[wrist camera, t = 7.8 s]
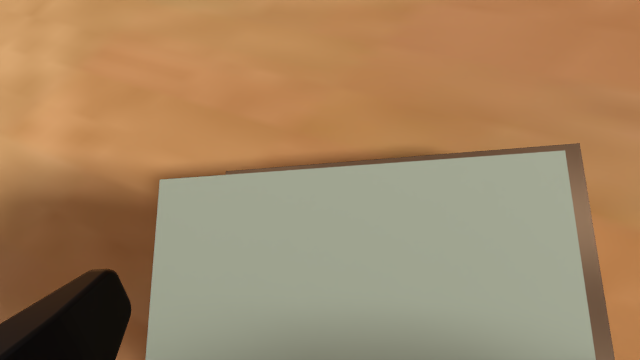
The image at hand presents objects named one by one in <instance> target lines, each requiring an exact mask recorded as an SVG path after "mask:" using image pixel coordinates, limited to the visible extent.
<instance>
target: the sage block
mask: <svg viewBox="0 0 640 360" xmlns="http://www.w3.org/2000/svg"><path fill="white" fill-rule="evenodd" d="M145 360H596V357H595V350H594V344H593V337H592V330H591V323H590V316H589V310H588V303H587V296H586V289H585V282H584V276H583V269H582V262H581V255H580V248H579V242H578V235H577V228H576V221H575V214H574V208H573V201H572V194H571V187H570V181H569V174H568V167H567V160H566V153H565V150H564V151H550V152H537V153H523V154H509V155H495V156H481V157H467V158H453V159H439V160H425V161H412V162H398V163H384V164H370V165H356V166H342V167H328V168H314V169H300V170H287V171H273V172H259V173H245V174H231V175H217V176H203V177H189V178H175V179H162V180H160V183H159V196H158V208H157V221H156V233H155V246H154V258H153V271H152V284H151V296H150V309H149V321H148V334H147V346H146V359H145Z"/></svg>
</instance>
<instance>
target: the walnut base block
mask: <svg viewBox="0 0 640 360" xmlns="http://www.w3.org/2000/svg"><path fill="white" fill-rule="evenodd" d="M564 150H565V153H566V160H567V167H568V174H569V181H570V187H571V194H572V201H573V208H574V214H575V221H576V228H577V235H578V242H579V248H580V255H581V262H582V269H583V276H584V282H585V289H586V296H587V303H588V310H589V316H590V323H591V330H592V337H593V344H594V350H595V357H596V360H615V358H614V352H613V346H612V340H611V334H610V327H609V321H608V315H607V309H606V303H605V297H604V290H603V284H602V278H601V272H600V266H599V260H598V254H597V247H596V241H595V235H594V229H593V223H592V217H591V211H590V204H589V198H588V192H587V186H586V180H585V174H584V167H583V161H582V155H581V149H580V143H577V144H565V145H552V146H540V147H527V148H514V149H502V150H489V151H477V152H464V153H451V154H439V155H426V156H414V157H401V158H388V159H376V160H363V161H351V162H338V163H325V164H313V165H300V166H288V167H275V168H262V169H250V170H237V171H226V175H231V174H245V173H259V172H273V171H287V170H300V169H314V168H328V167H342V166H356V165H370V164H384V163H398V162H412V161H425V160H439V159H453V158H467V157H481V156H495V155H509V154H523V153H537V152H550V151H564Z"/></svg>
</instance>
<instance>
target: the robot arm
mask: <svg viewBox="0 0 640 360" xmlns="http://www.w3.org/2000/svg"><path fill="white" fill-rule="evenodd" d="M130 315H131V304H130V301H129V298H128V296H127V294H126V292H125V290H124V288H123V285H122V283H121V281H120V279H119V277H118V275H117V273H116V272H114V271H113V270H110V269H99V270H91V271H88V272H86V273H84V274H83V275H81V276H79V277H78V278H76V279H74V280H73V281H71V282H69V283H68V284H66V285H64V286H63V287H61V288H59V289H58V290H56V291H54V292H53V293H51V294H49V295H48V296H46V297H44V298H43V299H41V300H39V301H38V302H36V303H34V304H33V305H31V306H29V307H28V308H26V309H24V310H23V311H21V312H19V313H18V314H16V315H14V316H13V317H11V318H9V319H8V320H6V321H4V322H3V323H1V324H0V360H115V359H116V356H117V353H118V350H119V347H120V345H121V342H122V339H123V336H124V333H125V330H126V327H127V324H128V321H129V318H130Z"/></svg>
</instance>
